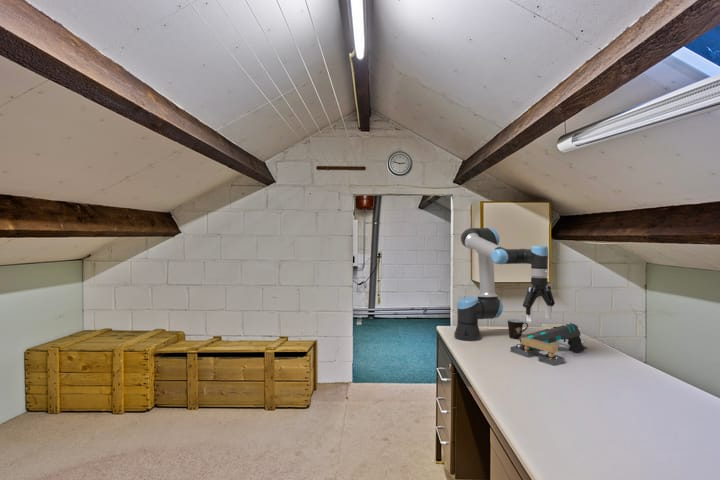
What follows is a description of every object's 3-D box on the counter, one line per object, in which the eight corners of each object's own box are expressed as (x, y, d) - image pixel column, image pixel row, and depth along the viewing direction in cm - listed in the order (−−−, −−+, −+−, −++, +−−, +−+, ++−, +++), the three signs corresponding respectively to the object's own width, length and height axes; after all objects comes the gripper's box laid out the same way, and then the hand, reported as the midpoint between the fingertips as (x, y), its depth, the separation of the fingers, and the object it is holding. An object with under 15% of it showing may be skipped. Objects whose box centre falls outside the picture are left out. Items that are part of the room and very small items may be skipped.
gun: (586, 350, 208) (577, 322, 209) (529, 366, 212) (520, 338, 212) (581, 346, 215) (572, 319, 215) (526, 362, 218) (517, 335, 219)
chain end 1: (510, 351, 211) (510, 344, 211) (521, 349, 215) (521, 343, 215) (528, 357, 202) (528, 350, 201) (539, 355, 205) (539, 348, 205)
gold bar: (521, 353, 208) (521, 338, 208) (526, 352, 210) (526, 337, 209) (552, 363, 192) (552, 346, 192) (557, 362, 194) (557, 345, 194)
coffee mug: (507, 338, 237) (507, 321, 237) (507, 335, 245) (507, 318, 245) (529, 340, 233) (529, 323, 233) (527, 336, 242) (527, 320, 242)
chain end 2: (538, 360, 196) (538, 354, 196) (549, 358, 200) (549, 352, 200) (553, 365, 189) (553, 358, 189) (564, 363, 193) (564, 356, 193)
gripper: (528, 279, 191) (527, 324, 191) (562, 276, 203) (562, 319, 203) (515, 277, 198) (514, 321, 198) (549, 275, 209) (549, 316, 210)
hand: (538, 320), depth 201 cm, fingers open, 13 cm apart
